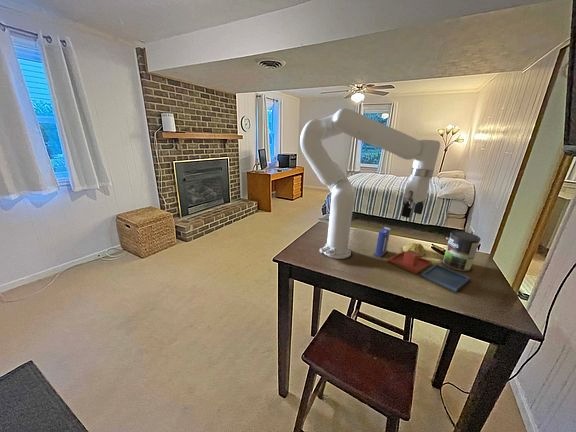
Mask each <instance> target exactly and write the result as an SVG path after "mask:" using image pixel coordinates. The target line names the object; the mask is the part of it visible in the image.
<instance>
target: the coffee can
mask: <svg viewBox="0 0 576 432" xmlns="http://www.w3.org/2000/svg"><path fill="white" fill-rule="evenodd" d="M480 242H481V238H480V236H478V235H476V234H474V233H471V232H468V231H464V230H452V231H450V232H449V238H448V241H447V245H446V248H445V252H444V256H443V259H442V263H443V264H444V265H446V267H447V266H448V268H450V269H451V268H452V269H454V270H457V271H470V270H471V268H472V266H473V262H474V259H475V256H476V253H477V250H478V247H479V244H480Z"/></svg>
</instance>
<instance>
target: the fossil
mask: <svg viewBox="0 0 576 432" xmlns="http://www.w3.org/2000/svg"><path fill="white" fill-rule="evenodd" d="M408 250H412V251H414V252H417V253H419V254H420V256H419V257H423V256H425V255H426V254H427V251H426V249H425V248H424V246H423V245H422V243H416V242H412V243H408V244H405V245H403V246H402V252H403V251H405V252H406V251H408Z"/></svg>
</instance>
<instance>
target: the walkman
mask: <svg viewBox="0 0 576 432" xmlns="http://www.w3.org/2000/svg"><path fill="white" fill-rule="evenodd" d="M391 231H392V229H391V228H390V227H386V226H383V228H382V229H380V230H379V231H378V236H377V241H376V248H375V253H374V256H377V257H379V258H382V257H383V256H384V255H385V254H386V252H387V250H388V245H389V240H390V234H391Z"/></svg>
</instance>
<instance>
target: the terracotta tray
mask: <svg viewBox="0 0 576 432" xmlns="http://www.w3.org/2000/svg"><path fill="white" fill-rule="evenodd" d="M404 252H405V251H403V250H402V251H401V252H399V253H397V254H395V255H393V256H391V257H389V258H388V259H387V261H388V262H390V263H392V264H394V265H396V266H398V267H401V268H403V269H405V270H408V271H410V272H412V273H414V274H418V273H421V271H423V270H425V269H426V268H427V267H429V266H430V265H432V261H430V260H428V259H426V258H423V257H421V256H419V260H418V263H417V264H415V265H414V266H411V265H409V264H407V263H404V262H402V261H403V257H404Z"/></svg>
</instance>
